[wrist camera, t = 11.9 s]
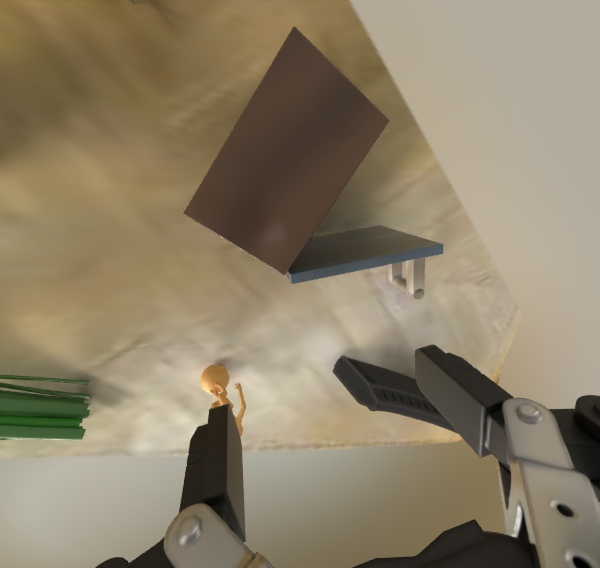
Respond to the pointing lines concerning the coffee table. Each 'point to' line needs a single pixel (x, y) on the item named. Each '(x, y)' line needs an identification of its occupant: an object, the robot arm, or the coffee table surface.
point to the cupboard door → (367, 256)
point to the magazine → (387, 391)
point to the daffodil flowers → (41, 412)
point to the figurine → (221, 389)
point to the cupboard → (287, 156)
